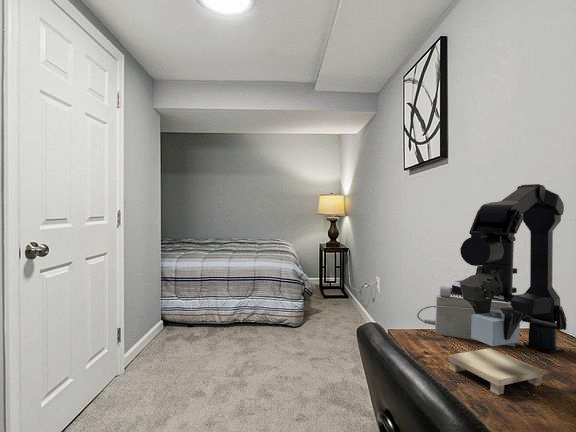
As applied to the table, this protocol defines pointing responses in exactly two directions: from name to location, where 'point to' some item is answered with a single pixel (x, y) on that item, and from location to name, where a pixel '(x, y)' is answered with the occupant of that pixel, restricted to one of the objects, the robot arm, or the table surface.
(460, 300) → the geiger counter
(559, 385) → the table surface
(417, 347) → the table surface
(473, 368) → the stand
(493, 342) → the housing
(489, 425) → the table surface
